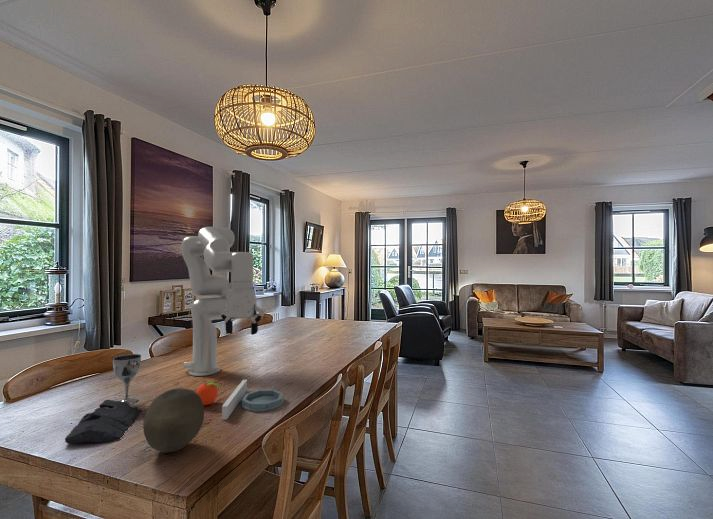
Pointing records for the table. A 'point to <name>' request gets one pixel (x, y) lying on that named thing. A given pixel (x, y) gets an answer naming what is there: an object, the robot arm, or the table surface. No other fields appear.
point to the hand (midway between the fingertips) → (241, 333)
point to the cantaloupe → (173, 419)
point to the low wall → (234, 400)
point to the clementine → (207, 393)
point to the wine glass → (127, 371)
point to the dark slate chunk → (104, 423)
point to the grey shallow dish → (262, 400)
